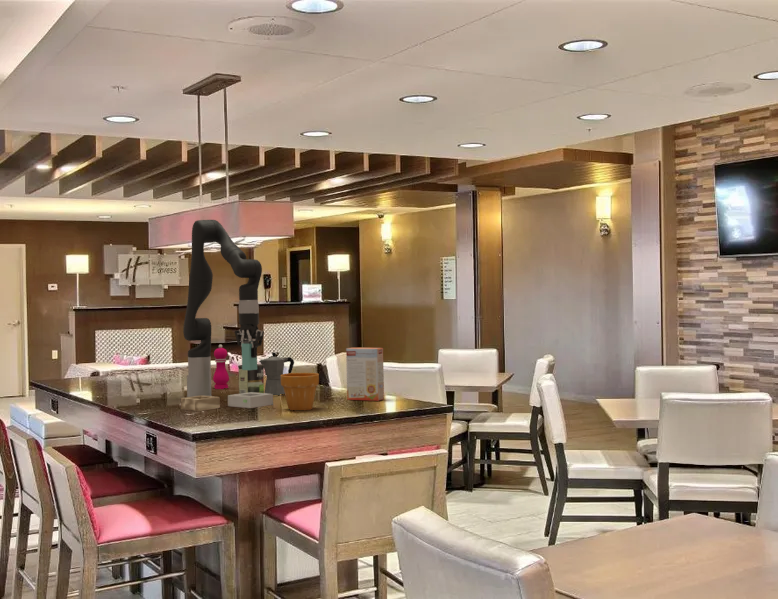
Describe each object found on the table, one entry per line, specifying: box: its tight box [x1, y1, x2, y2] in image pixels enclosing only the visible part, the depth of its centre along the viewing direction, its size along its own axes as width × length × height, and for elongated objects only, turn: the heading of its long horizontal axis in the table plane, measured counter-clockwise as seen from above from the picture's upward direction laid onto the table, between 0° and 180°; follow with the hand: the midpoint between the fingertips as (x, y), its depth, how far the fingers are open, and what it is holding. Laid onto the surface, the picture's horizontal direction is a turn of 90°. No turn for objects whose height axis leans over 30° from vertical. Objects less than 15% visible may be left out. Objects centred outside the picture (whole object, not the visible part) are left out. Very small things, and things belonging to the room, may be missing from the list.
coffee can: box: [237, 363, 265, 394], centre depth 370 cm, size 10×10×14 cm
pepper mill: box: [212, 344, 230, 390], centre depth 413 cm, size 7×7×20 cm
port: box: [227, 392, 274, 409], centre depth 345 cm, size 12×12×5 cm
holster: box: [180, 395, 221, 412], centre depth 338 cm, size 10×10×5 cm
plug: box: [241, 341, 258, 370], centre depth 345 cm, size 4×4×11 cm
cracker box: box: [345, 347, 385, 402], centre depth 364 cm, size 14×6×21 cm, turn 65°
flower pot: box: [281, 372, 320, 411], centre depth 339 cm, size 14×14×13 cm
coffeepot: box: [258, 351, 295, 395], centre depth 386 cm, size 15×9×18 cm, turn 113°
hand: (249, 357), depth 345 cm, fingers closed on plug, 4 cm apart
